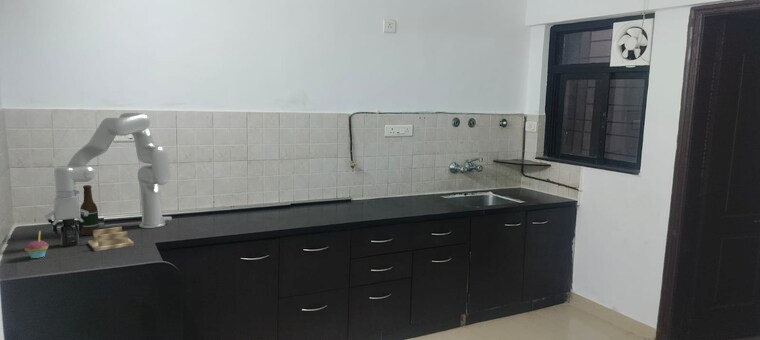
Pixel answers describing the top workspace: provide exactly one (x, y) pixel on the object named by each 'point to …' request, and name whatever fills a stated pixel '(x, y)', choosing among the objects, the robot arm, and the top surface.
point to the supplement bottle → (69, 233)
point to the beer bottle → (90, 206)
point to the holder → (110, 239)
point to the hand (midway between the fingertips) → (68, 231)
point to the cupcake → (37, 248)
